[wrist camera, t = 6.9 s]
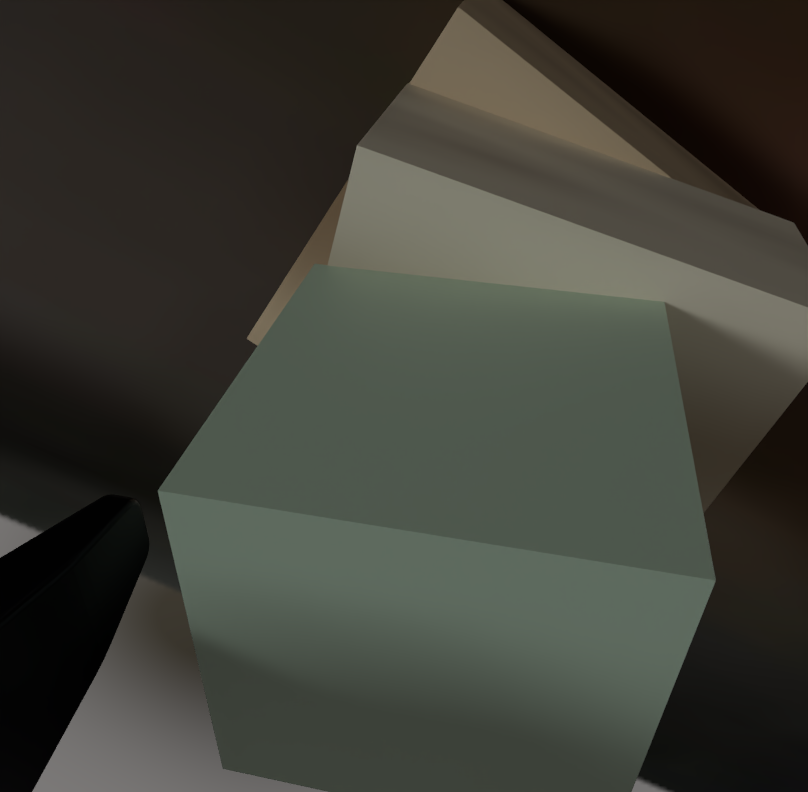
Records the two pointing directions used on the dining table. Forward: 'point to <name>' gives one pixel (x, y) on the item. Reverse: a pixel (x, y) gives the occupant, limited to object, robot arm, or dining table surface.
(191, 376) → the dining table surface
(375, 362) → the sage cube
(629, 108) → the oak slab
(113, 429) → the dining table surface
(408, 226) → the birch slab
